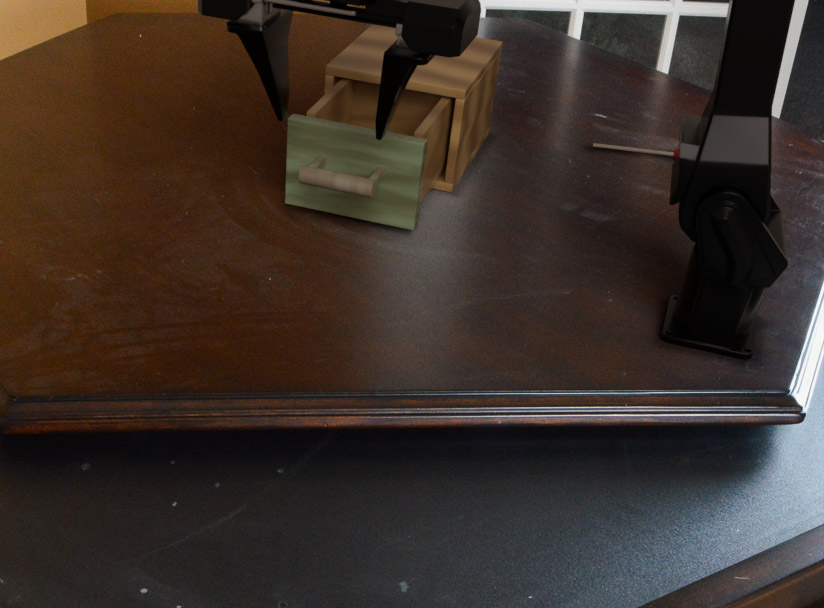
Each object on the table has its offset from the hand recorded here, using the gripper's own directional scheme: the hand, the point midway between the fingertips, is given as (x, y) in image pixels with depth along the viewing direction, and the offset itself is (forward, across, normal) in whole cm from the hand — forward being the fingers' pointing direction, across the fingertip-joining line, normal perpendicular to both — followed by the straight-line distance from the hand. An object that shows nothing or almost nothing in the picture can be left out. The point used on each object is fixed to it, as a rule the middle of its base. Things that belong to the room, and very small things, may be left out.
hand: (331, 128), depth 77 cm
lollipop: (+11, -24, -34) cm, 43 cm away
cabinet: (+10, 0, -24) cm, 26 cm away
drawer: (+10, 0, -11) cm, 14 cm away
